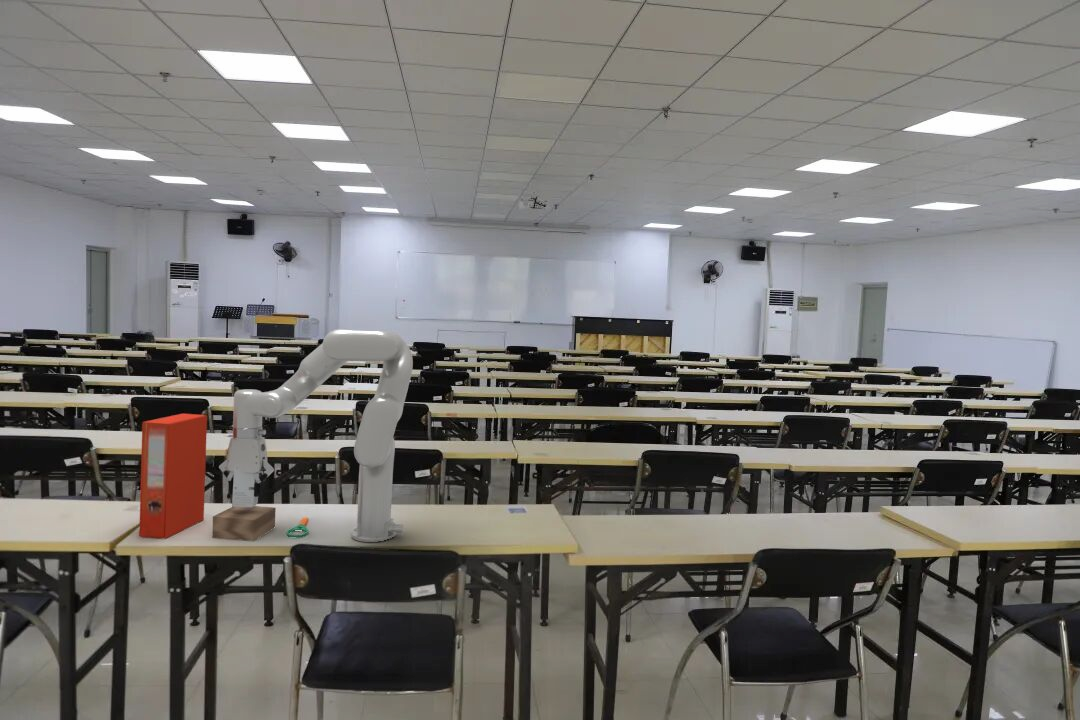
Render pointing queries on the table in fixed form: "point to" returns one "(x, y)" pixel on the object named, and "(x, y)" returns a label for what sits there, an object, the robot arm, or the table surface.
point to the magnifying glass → (299, 528)
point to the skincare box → (243, 489)
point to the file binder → (172, 474)
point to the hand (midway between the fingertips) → (245, 494)
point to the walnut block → (243, 522)
